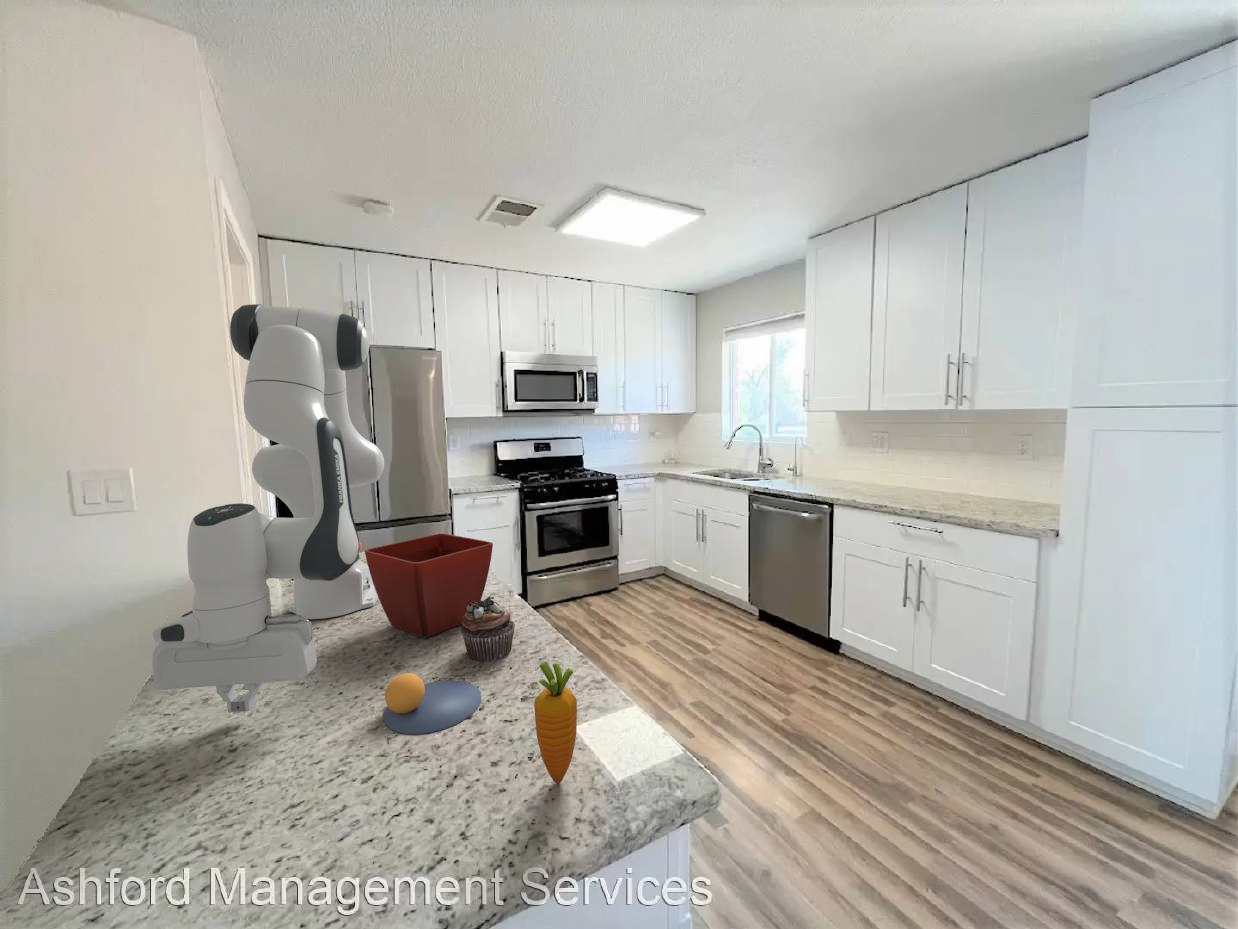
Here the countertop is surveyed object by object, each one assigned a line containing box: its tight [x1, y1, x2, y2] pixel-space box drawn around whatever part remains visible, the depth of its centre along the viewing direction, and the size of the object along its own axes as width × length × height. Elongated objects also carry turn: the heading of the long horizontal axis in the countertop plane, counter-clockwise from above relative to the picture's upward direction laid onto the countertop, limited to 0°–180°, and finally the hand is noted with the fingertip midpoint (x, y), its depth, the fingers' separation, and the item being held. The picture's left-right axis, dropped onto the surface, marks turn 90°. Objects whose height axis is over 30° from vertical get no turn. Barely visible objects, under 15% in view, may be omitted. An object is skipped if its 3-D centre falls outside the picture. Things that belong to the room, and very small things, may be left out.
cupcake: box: [460, 595, 516, 663], centre depth 93 cm, size 10×10×10 cm
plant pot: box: [364, 533, 494, 639], centre depth 107 cm, size 19×19×17 cm
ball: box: [384, 672, 425, 714], centre depth 75 cm, size 6×6×6 cm
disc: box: [382, 679, 482, 735], centre depth 76 cm, size 14×14×1 cm
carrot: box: [533, 660, 578, 785], centre depth 59 cm, size 5×5×15 cm
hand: (242, 710), depth 73 cm, fingers closed
